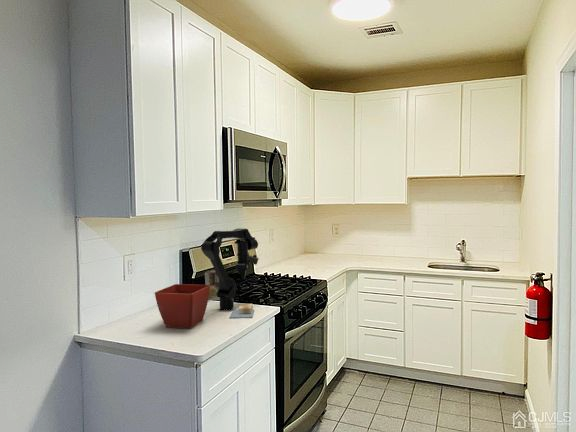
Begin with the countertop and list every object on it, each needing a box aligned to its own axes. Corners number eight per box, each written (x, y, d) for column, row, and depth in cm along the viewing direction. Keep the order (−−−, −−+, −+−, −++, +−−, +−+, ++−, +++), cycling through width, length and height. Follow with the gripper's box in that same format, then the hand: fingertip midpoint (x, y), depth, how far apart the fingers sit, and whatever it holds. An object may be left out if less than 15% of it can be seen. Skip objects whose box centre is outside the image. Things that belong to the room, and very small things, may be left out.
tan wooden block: (241, 309, 217) (238, 314, 208) (240, 303, 217) (238, 308, 208) (252, 308, 217) (251, 313, 208) (252, 303, 217) (250, 308, 208)
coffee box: (224, 297, 245) (223, 270, 245) (221, 300, 239) (220, 272, 238) (208, 297, 246) (207, 270, 246) (205, 300, 240) (204, 272, 239)
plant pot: (176, 317, 209) (175, 283, 208) (212, 319, 204) (210, 284, 203) (155, 329, 190) (153, 292, 189) (193, 331, 185) (192, 294, 184)
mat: (229, 318, 204) (229, 317, 204) (232, 311, 216) (232, 310, 216) (252, 317, 204) (252, 316, 204) (254, 310, 216) (254, 309, 216)
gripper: (255, 253, 222) (256, 282, 222) (258, 248, 240) (259, 275, 241) (234, 253, 222) (235, 283, 223) (239, 249, 240) (240, 276, 241)
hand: (243, 279), depth 232 cm, fingers closed
